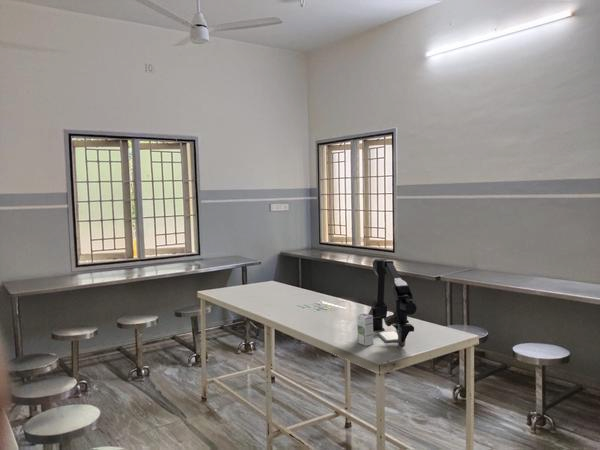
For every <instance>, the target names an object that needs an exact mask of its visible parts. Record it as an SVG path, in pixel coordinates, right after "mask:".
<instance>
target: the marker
mask: <svg viewBox="0 0 600 450" xmlns="http://www.w3.org/2000/svg"><path fill="white" fill-rule="evenodd" d="M398 329H399V326H398ZM397 346H398V347H405V346H406V340H405V341H404V342H402V341H401V335H400V331H398V342H397Z"/></svg>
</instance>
